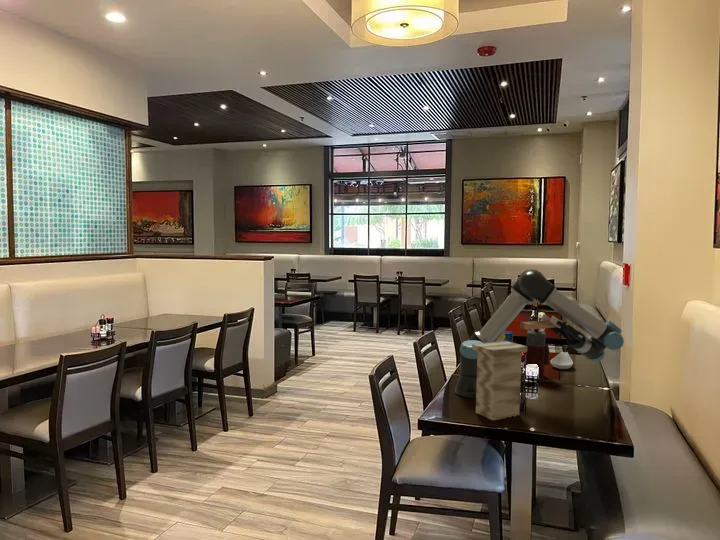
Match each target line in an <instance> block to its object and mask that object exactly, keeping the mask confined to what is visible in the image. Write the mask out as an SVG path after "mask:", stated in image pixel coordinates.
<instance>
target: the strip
mask: <svg viewBox="0 0 720 540" xmlns="http://www.w3.org/2000/svg"><path fill="white" fill-rule="evenodd" d="M559 320H560V321H561V322H562V323H563V322H566V320H563V319H559ZM519 325H520V329H522V330H526V331H529V330H534V329H539V330H540V329H550V328H552V327H557V326H555V325H554V324H553V323H551V322H550V320H544V321H542V320H535V321H523V322H521V321H520V324H519Z"/></svg>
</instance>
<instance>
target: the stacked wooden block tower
mask: <svg viewBox="0 0 720 540" xmlns="http://www.w3.org/2000/svg"><path fill="white" fill-rule="evenodd" d="M472 349H473V350H476V351H478V356H477V386H476V398H475V414H478V415H480V416H482V417H484V418H487V419H489V420H490V421H497V420H502V419H507V417H508V418H512V416H513V417H518V416H520V408H521V407H520V405H521V404H520V403H521V402H520V401H521V377H522V376H521V375H522V367H521V356H522V352H527V346H526V345H523V344H519V343H516V342H513V343H512V342H508V341H500V342H491V343H481V344H472ZM517 415H518V416H517Z"/></svg>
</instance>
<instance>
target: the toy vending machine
mask: <svg viewBox="0 0 720 540" xmlns="http://www.w3.org/2000/svg"><path fill="white" fill-rule="evenodd" d="M546 336H547V333H546V331H543V330H542V331H541V330H540V329H531V330H527V333H526V343H525V344H526V345H525V346H527V352H526V365H527V364H537V365H538V367H539V378H540V379H545V378H544V377H545V366H549V365H550V347H549V344H548V343H546V339H547V338H546ZM526 365H525V366H526ZM540 379H539V380H540Z"/></svg>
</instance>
